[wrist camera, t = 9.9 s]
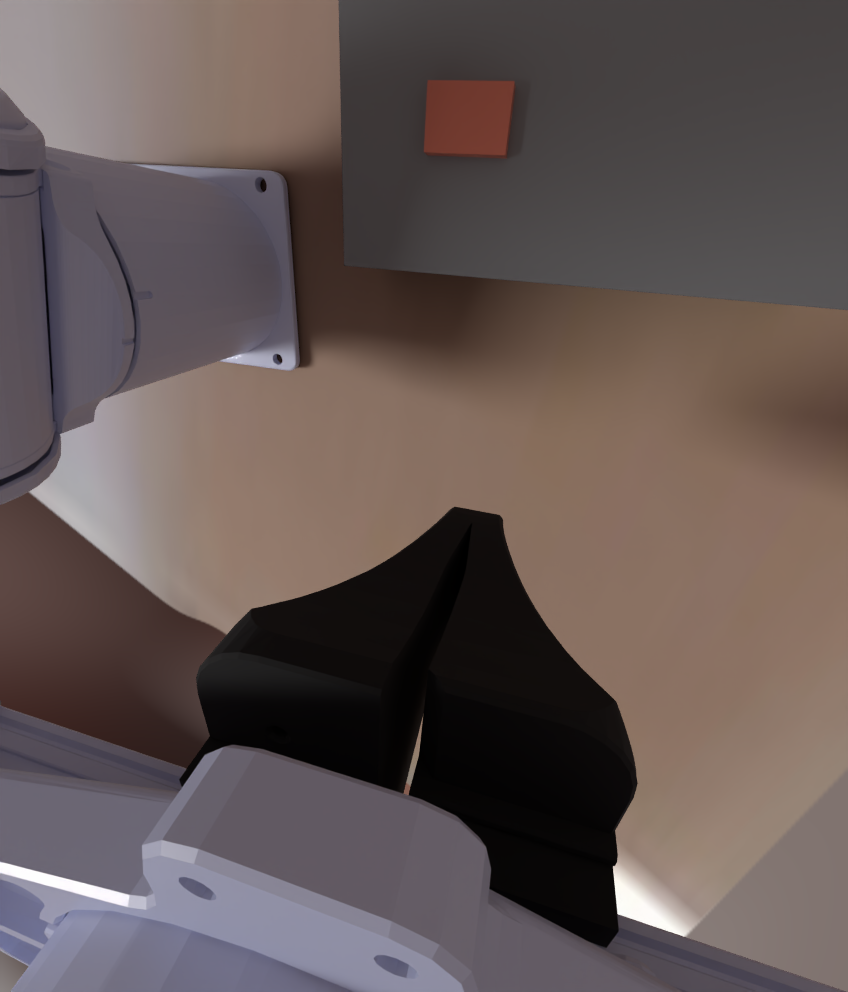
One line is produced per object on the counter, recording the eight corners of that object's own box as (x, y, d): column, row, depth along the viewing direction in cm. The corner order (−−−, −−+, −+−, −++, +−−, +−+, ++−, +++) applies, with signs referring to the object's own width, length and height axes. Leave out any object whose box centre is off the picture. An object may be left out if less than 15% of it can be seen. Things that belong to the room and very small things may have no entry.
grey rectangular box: (380, 263, 19) (338, 266, 15) (385, -5, 15) (328, -94, 11) (828, 301, 16) (916, 316, 12) (981, -21, 12) (1185, -149, 8)
